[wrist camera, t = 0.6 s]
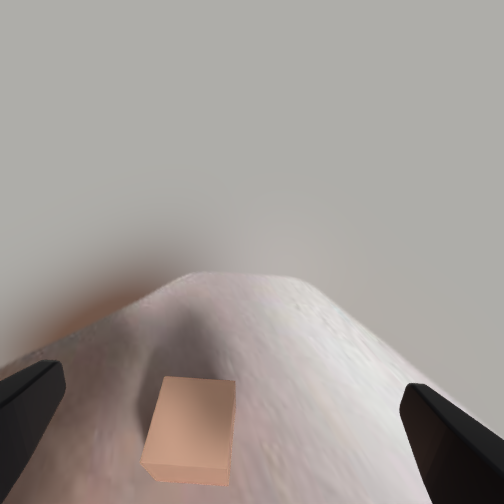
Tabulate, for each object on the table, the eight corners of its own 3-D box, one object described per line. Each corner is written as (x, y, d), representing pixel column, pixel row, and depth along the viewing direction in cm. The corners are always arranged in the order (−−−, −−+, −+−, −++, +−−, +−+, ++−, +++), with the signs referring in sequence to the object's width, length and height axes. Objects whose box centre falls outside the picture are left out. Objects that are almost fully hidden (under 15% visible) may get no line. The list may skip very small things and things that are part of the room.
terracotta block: (228, 486, 19) (226, 469, 16) (156, 481, 20) (139, 462, 16) (235, 408, 23) (235, 380, 20) (174, 404, 23) (164, 375, 20)
